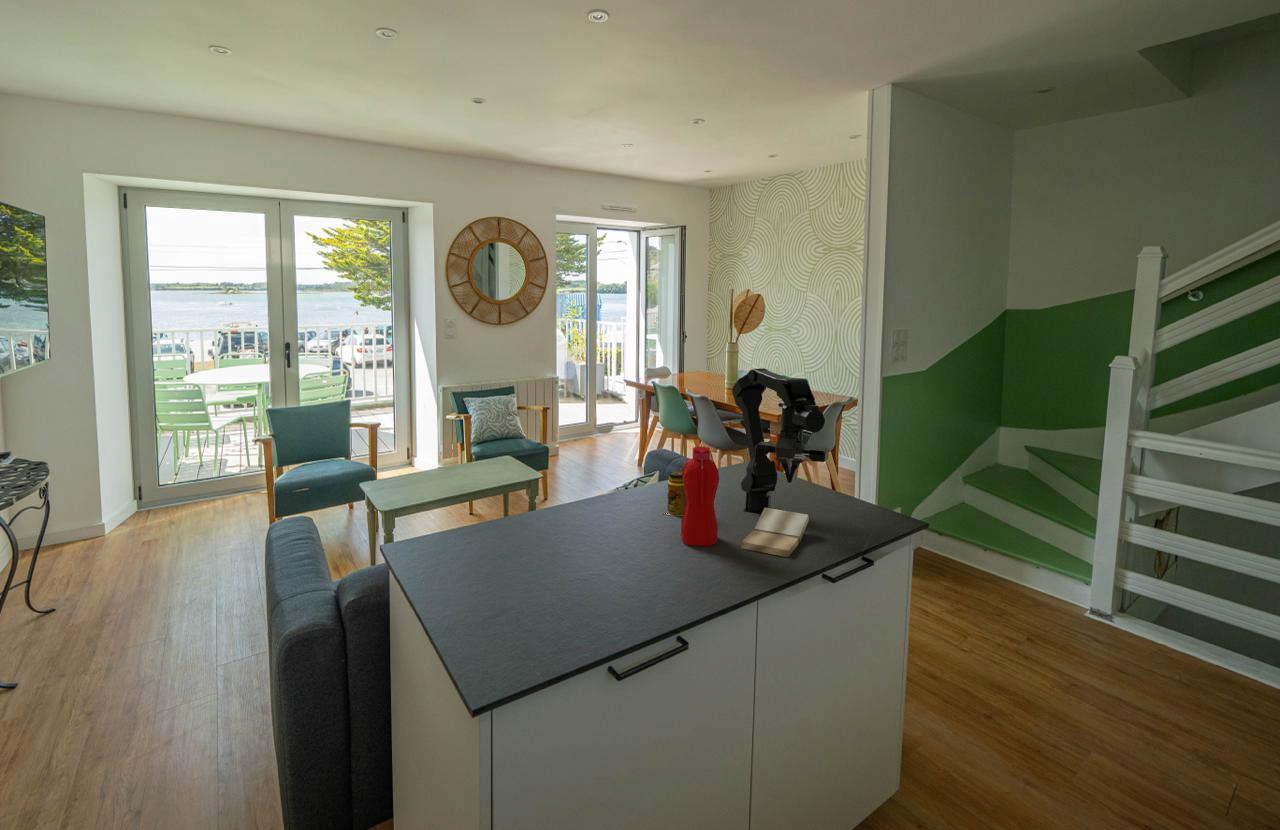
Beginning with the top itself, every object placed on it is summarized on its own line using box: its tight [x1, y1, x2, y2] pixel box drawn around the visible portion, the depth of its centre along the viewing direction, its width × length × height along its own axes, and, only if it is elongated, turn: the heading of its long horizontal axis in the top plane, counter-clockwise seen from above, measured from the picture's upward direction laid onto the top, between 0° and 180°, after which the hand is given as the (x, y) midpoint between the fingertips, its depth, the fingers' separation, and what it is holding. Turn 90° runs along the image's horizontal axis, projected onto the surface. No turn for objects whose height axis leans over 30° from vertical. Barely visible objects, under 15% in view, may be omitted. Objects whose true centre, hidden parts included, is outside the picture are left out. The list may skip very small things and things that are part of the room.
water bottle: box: [680, 446, 720, 547], centre depth 166 cm, size 9×11×25 cm
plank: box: [754, 508, 810, 543], centre depth 173 cm, size 12×9×2 cm
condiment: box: [663, 470, 686, 517], centre depth 191 cm, size 7×8×12 cm
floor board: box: [740, 528, 800, 558], centre depth 165 cm, size 12×10×2 cm
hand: (789, 482), depth 176 cm, fingers closed
